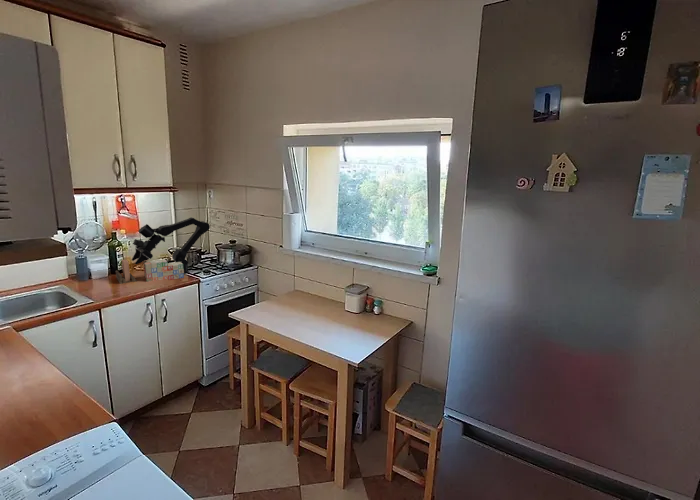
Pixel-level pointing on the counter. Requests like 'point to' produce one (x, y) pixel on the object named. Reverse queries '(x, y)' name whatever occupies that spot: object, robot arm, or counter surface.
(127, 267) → the beige flat slab
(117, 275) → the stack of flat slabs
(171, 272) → the stack of blocks
